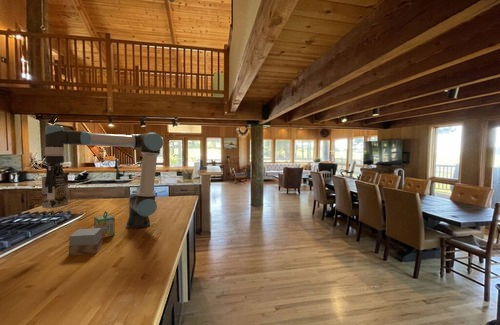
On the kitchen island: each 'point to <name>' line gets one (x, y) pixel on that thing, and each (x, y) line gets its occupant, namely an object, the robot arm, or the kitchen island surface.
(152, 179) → the robot arm
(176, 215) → the kitchen island surface
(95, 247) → the tower base
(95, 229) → the grey flat block
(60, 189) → the coffee box
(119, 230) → the kitchen island surface
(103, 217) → the chalk box
